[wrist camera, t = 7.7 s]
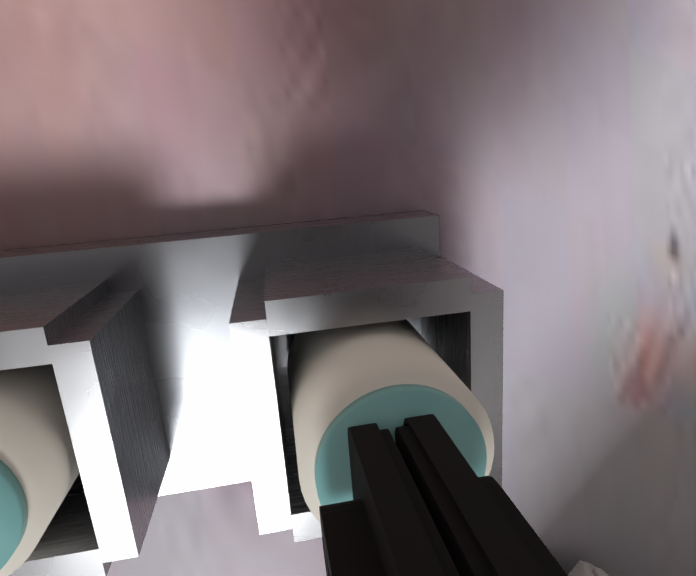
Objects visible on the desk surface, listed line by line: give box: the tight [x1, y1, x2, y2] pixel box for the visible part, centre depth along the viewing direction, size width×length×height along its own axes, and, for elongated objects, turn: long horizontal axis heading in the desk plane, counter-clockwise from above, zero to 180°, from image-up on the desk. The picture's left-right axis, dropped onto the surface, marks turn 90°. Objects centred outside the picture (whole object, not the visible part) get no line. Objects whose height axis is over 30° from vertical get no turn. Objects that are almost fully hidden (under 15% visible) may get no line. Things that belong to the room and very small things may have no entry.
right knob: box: [287, 319, 494, 522], centre depth 12 cm, size 4×4×5 cm
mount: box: [0, 211, 503, 576], centre depth 14 cm, size 15×8×6 cm, turn 94°
